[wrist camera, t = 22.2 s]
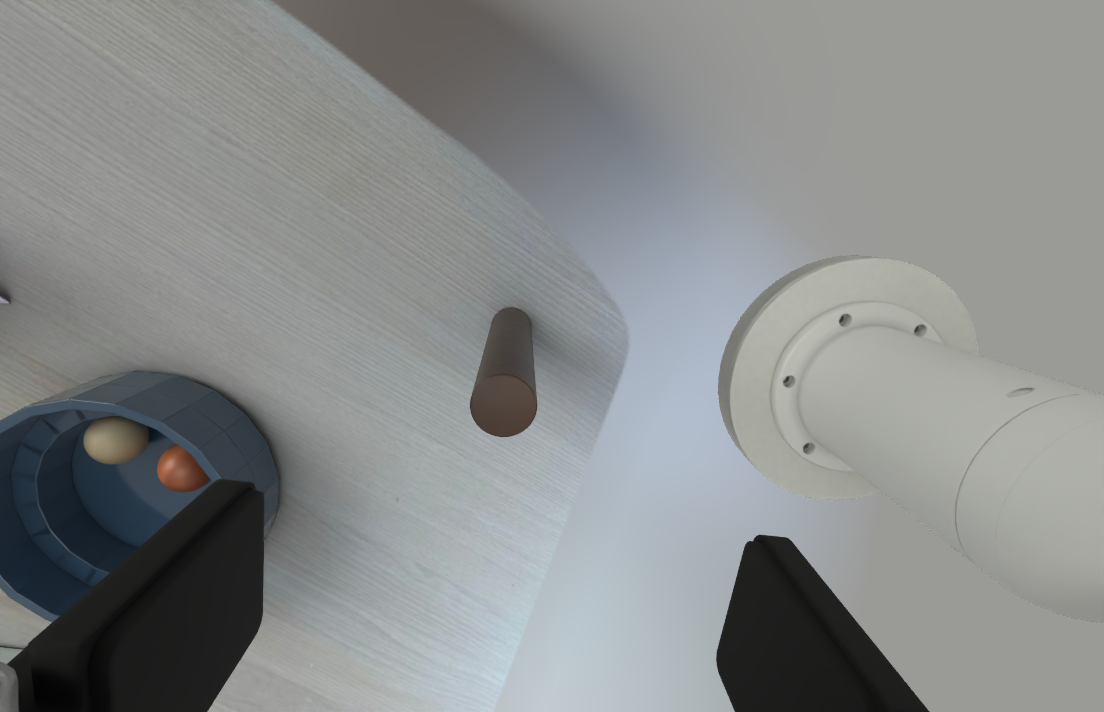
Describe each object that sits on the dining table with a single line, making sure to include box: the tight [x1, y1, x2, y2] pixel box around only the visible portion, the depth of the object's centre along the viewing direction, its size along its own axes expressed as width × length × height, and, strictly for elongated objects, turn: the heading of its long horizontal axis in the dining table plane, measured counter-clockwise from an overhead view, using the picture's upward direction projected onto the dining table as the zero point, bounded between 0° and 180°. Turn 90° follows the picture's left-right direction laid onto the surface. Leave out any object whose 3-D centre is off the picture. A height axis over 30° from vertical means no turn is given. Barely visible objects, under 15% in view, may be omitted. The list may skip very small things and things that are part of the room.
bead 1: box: [83, 416, 149, 464], centre depth 34 cm, size 3×3×3 cm
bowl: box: [0, 371, 279, 622], centre depth 34 cm, size 15×15×6 cm
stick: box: [470, 308, 537, 437], centre depth 28 cm, size 3×3×15 cm
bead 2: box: [157, 444, 211, 492], centre depth 35 cm, size 3×3×3 cm
